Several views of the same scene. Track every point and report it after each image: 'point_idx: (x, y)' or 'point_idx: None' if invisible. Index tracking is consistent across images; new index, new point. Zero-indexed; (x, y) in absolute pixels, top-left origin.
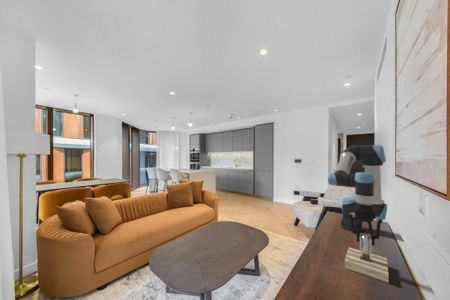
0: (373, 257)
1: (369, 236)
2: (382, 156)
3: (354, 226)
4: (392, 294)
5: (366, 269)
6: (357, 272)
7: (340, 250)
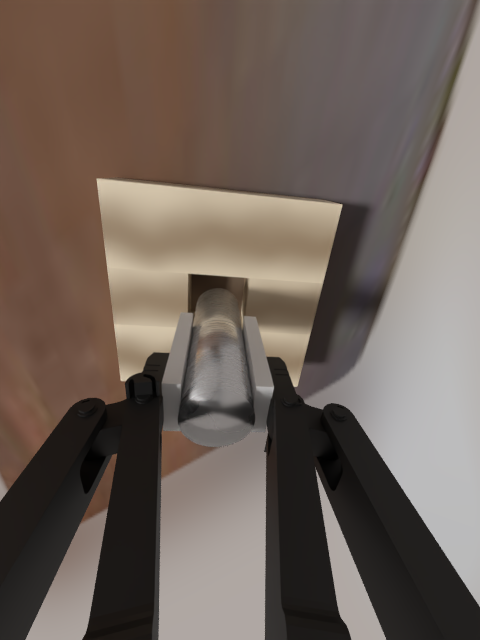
0: (260, 252)
1: (254, 418)
2: None
3: (67, 545)
4: None
5: None
6: None
7: (50, 132)
